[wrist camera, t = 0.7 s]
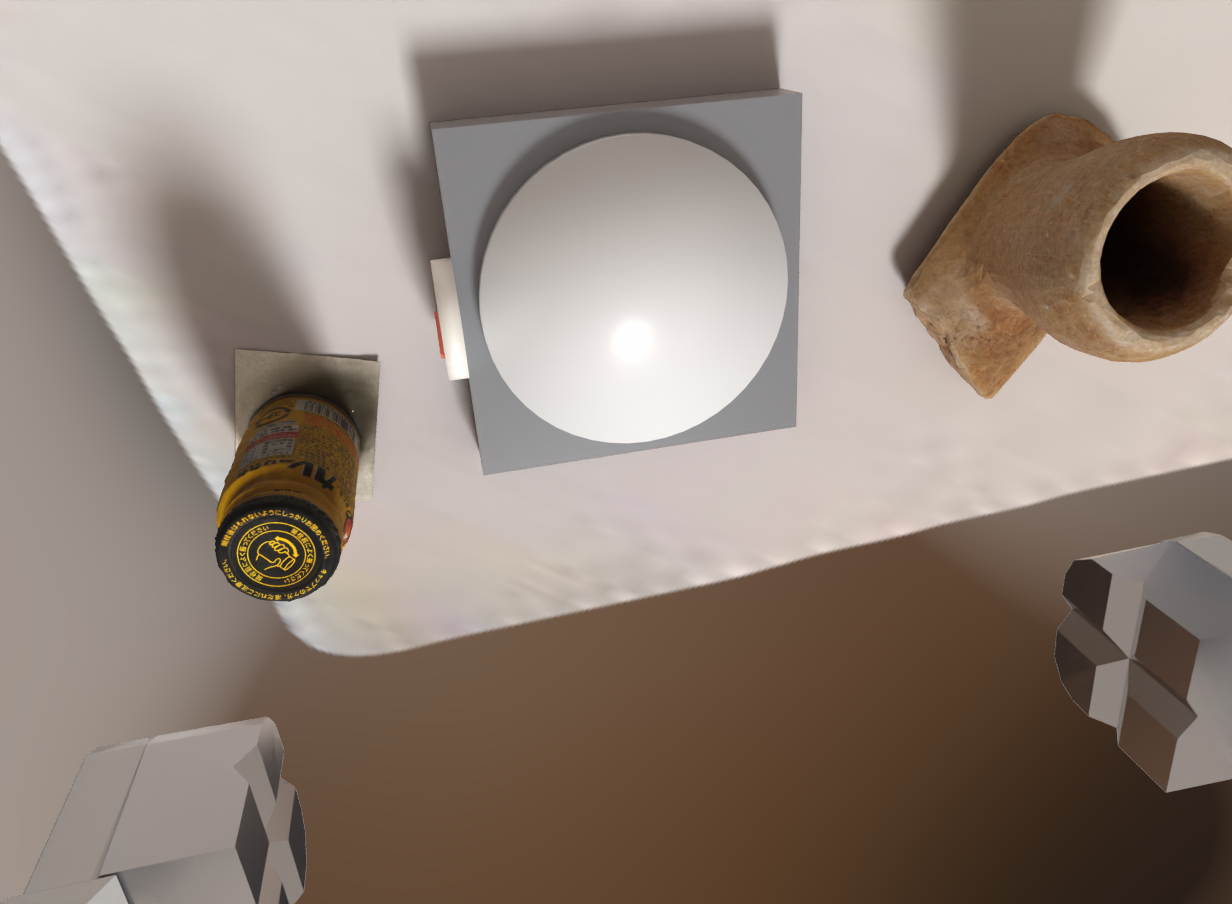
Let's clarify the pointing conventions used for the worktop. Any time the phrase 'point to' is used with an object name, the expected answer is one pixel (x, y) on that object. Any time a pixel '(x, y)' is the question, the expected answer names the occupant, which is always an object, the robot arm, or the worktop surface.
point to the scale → (621, 274)
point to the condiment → (295, 470)
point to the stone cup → (1082, 251)
